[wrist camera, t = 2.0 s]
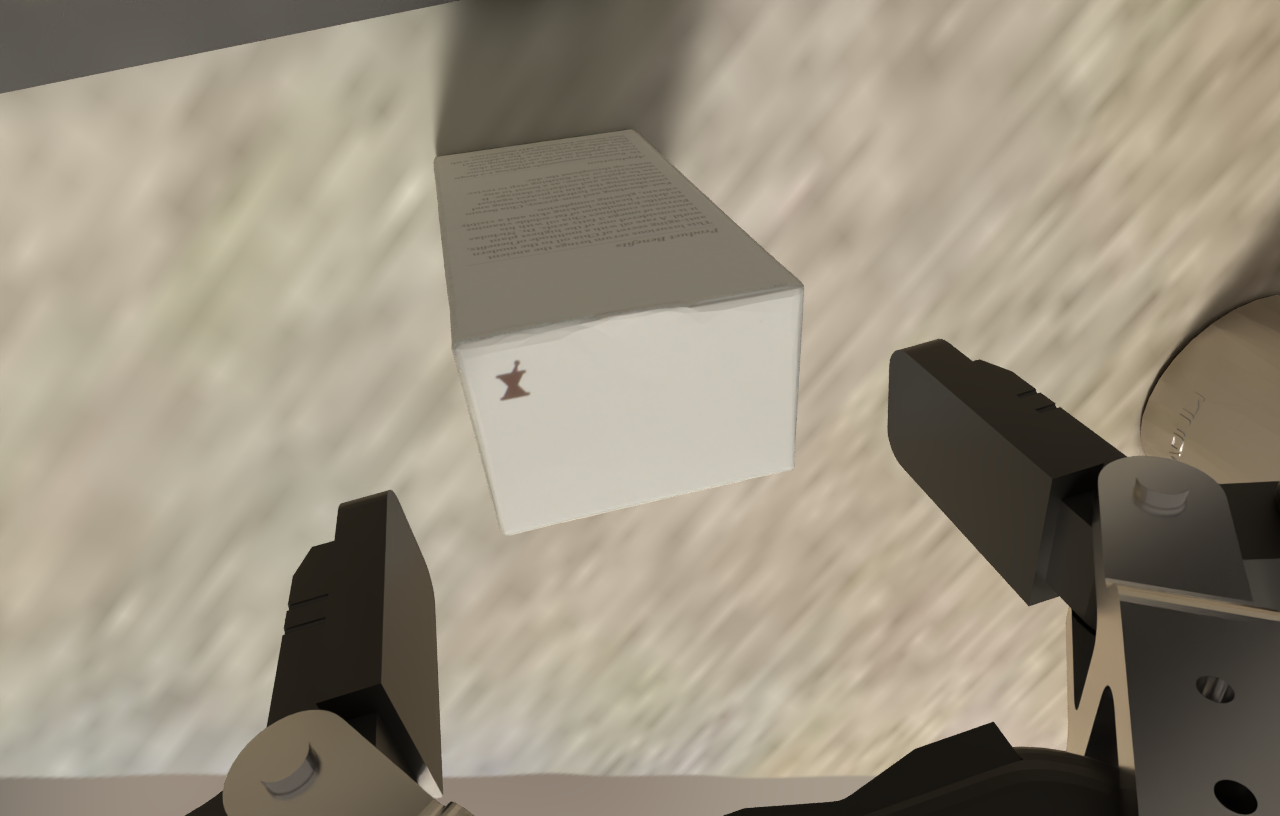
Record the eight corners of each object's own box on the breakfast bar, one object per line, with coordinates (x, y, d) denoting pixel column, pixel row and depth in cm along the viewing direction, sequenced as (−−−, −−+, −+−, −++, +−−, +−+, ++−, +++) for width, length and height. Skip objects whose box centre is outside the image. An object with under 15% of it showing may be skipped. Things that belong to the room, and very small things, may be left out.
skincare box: (462, 292, 24) (491, 546, 14) (431, 153, 22) (440, 339, 12) (651, 260, 25) (802, 477, 15) (640, 124, 23) (810, 274, 13)
